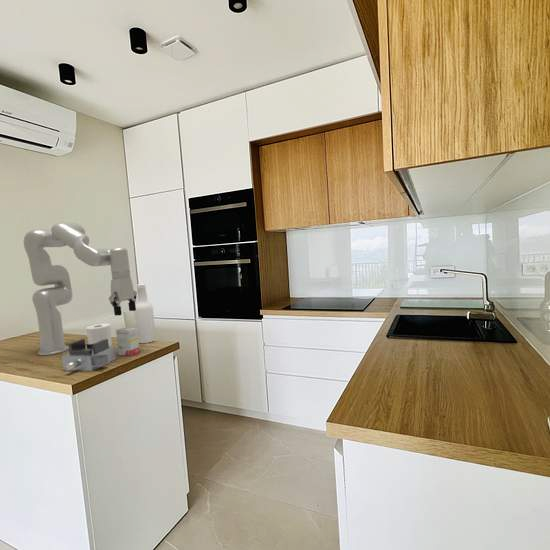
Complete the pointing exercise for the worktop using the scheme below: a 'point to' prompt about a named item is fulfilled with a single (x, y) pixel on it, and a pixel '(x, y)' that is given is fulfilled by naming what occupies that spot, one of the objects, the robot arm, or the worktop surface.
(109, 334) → the toilet paper
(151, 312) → the alcohol
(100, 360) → the grey boxy piece
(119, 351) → the ink box
